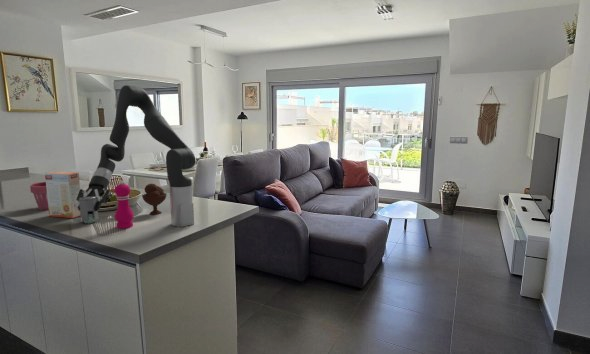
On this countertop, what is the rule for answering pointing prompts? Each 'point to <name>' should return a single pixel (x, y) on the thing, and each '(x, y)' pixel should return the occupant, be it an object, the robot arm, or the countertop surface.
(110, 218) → the countertop surface
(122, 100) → the robot arm
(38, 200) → the plant pot
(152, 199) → the ice cream bowl
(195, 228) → the countertop surface
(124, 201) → the pepper mill
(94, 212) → the charcoal cup
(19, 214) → the countertop surface
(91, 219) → the mint green cube
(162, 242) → the countertop surface
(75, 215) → the cracker box
